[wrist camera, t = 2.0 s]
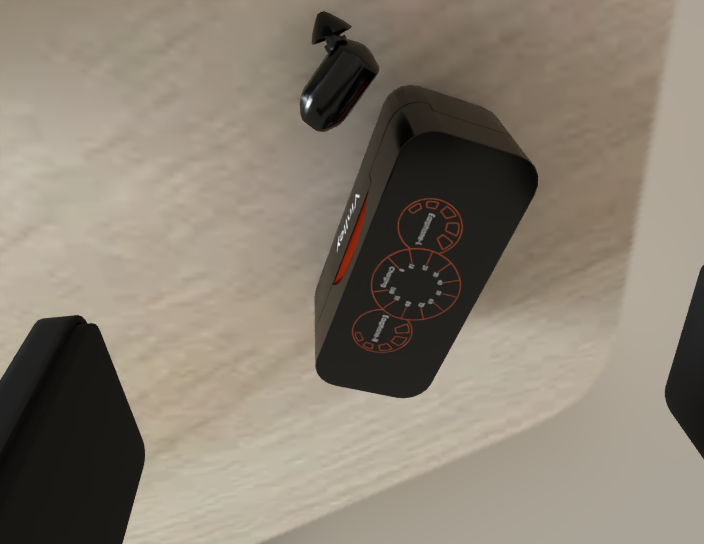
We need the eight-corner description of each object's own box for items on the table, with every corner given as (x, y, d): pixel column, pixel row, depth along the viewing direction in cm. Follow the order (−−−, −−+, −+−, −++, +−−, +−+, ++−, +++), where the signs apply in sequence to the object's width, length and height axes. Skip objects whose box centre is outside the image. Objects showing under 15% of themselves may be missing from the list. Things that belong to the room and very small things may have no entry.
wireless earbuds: (519, 73, 13) (573, 125, 10) (402, 317, 17) (421, 402, 14) (317, 3, 12) (320, 40, 9) (240, 280, 16) (226, 364, 13)
